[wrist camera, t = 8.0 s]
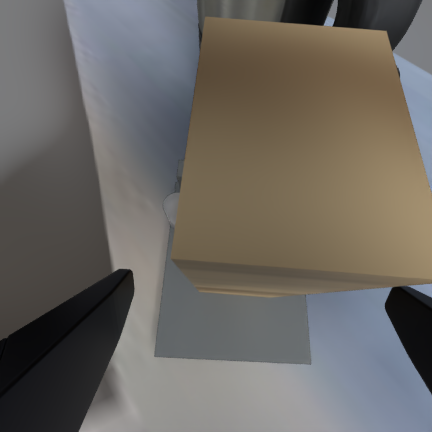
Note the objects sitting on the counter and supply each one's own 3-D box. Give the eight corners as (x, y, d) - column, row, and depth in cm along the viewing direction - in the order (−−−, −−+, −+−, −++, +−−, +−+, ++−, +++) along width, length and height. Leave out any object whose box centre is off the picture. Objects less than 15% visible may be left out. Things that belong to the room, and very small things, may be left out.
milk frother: (176, 92, 22) (122, -261, 8) (285, 23, 26) (371, -293, 12) (290, 192, 19) (522, -121, 5) (394, 95, 23) (682, -228, 9)
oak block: (269, 297, 15) (456, 280, 4) (199, 292, 15) (170, 258, 4) (269, 210, 17) (386, 30, 6) (207, 205, 17) (205, 16, 6)
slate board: (304, 360, 15) (337, 380, 11) (157, 353, 15) (139, 370, 11) (292, 194, 19) (313, 167, 15) (177, 188, 19) (169, 159, 15)
